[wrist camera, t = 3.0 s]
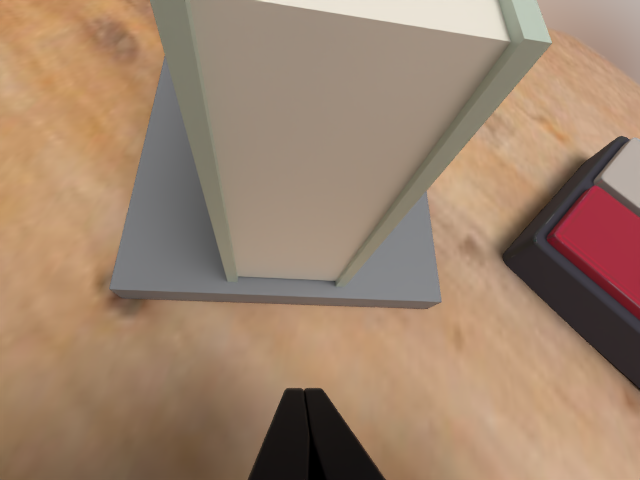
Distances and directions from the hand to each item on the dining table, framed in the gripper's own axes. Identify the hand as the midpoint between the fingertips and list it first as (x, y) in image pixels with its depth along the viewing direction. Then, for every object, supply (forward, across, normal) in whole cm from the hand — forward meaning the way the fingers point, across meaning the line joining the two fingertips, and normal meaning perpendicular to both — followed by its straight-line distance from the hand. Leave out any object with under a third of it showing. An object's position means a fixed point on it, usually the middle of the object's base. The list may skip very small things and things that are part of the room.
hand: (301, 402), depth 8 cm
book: (+11, 0, -3) cm, 12 cm away
